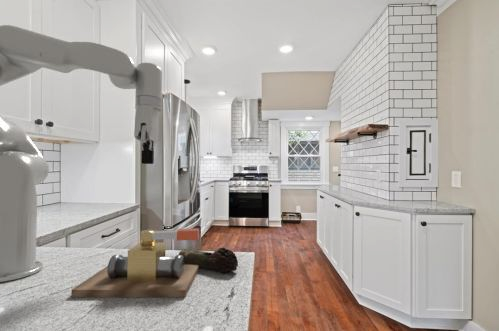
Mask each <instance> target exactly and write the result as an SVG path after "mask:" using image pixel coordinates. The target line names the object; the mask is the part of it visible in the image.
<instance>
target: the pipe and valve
mask: <svg viewBox="0 0 499 331" xmlns="http://www.w3.org/2000/svg"><path fill="white" fill-rule="evenodd" d="M107 266H108V268H107V273H108V277H109V278H117V277H118V276H127V282H156V281H157V279H158V278H159V277H160V276H173V277H174V278H180V277H181V276H182V274H183V271H184V256H183V255H178V254H176V255H174V256H166V242H155V245H153V246H146V247H144V246H141V241H140V242H139V243H137V244H135V245H134V246H133V247H131V248H129V249H128V250H127V256H124V255H122V254H113V255H112V256H111V257H110V259H109V261H108V263H107Z"/></svg>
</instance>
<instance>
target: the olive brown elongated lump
mask: <svg viewBox="0 0 499 331" xmlns="http://www.w3.org/2000/svg"><path fill="white" fill-rule="evenodd" d="M177 255H183V256H184V265H199V268H206V269H207V268H208V269H213V270H216V271H218V272H220V273H222V274H224V275H225V274H227V273H228V272H229V271H230V272H232V271H233V272H235V271H237V269H238V267H239V261H238V257H237V255H236V253H235V252H234V251H233V250H231V249H226V247H219V248H218V249H217V250H214V251H213V252H207V251H203V250H202V251H201V250H195V249H188V248H183V249H181V250H180V251H179V253H178V254H177Z"/></svg>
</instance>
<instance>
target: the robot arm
mask: <svg viewBox="0 0 499 331" xmlns="http://www.w3.org/2000/svg"><path fill="white" fill-rule="evenodd" d="M41 68H44V69H49V70H52V71H55V72H60V73H62V74H69V73H71V72H73V71H75V70H81V69H82V70H89V71H94V72H98V73H101V74H105V75H108V77H109V79H110V82H111V83H112V85H114V87H116V88H118V89H122V90H133V89H134V90H135V110H136V111H135V117H134V130H133V131H134V132H133V135H134V136H133V137H134V138H135V139H136V140H138V141H139V142H140V143H141V164H143V165H153V164H154V161H155V160H154V159H155V151H154V150H155V143H157V142H158V141H159V137H160V136H159V132H160V129H159V128H160V127H159V126H160V125H159V123H160V122H159V113H160V112H162V97H163V96H162V94H163V92H162V90H163V89H162V87H163V86H162V82H163V71H162V68H161V67H160V66H159V65H157V64H155V63H151V62H141V63H140V62H139V64H137V66H135V62H134V61H133V59H132V57H130V55H128V54H127V53H125V52H124V51H121V50H120V49H119V50H118V49H117V48H113V47H110V46H107V45H105V44H104V45H103V44H101V43H96V42H91V41H66V40H62V39H59V38H56V37H52V36H48V35H46V34H41V33H39V32H36V31H32V30H29V29H25V28H21V27H18V26H16V25H15V26H14V25H10V24H3V25H0V87H1V86H3V85H6V84H9V83H11V82H13V81H17V80H19V79H21V78H23V77H26V76H28V75H31V74H33V73H35V72H38V71H39V70H40V69H41ZM49 170H50V168H49V164H48V162H47V160H46V159H45V157H44V156H43V154H42V153H41V152H40V150H39V149H38V148H37V146H36V145H35V143H34V141H33V140H32V139H31V137H30V136H29V134H28V133H27V132H26V131H25V130H24V128H22V127H21V126H20V125H19V124H17V123H15V122H13V121H10V120H7V119H6V118H4V117H3V116H2V115H0V283H3V282H10V281H13V280H19V279H22V278H25V277H29V276H32V275H34V274H36V273H38V272H40V271H41V270H43V268H44V264H43V262H42V261H39V260H37V258H36V257H37V229H38V228H37V226H38V221H37V220H38V218H37V217H38V197H37V196H38V195H37V191H36V190H37V188H36V185H37V186H38V185H39V184H41V183H43V182H44V181H45V180H46V179H47V177H48V175H49V172H50V171H49Z"/></svg>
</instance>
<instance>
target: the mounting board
mask: <svg viewBox="0 0 499 331" xmlns="http://www.w3.org/2000/svg"><path fill="white" fill-rule="evenodd" d="M107 268H108V265H107V266H105V267H104V268H102V269H101V270H99V271H98V272H96V273H95V274H93V275H92V276H90V277H88V278H87V279H86V280H84V281H82V282H81V283H80V284H78V285H76V286H75V287H74V288H72V289H71V291H70V293H71V294H70V295H71V298H186V297H187V295H188V293H189V291H190V289H191V287H192V285H193V283H194V281H195V279H196V277H197V275H198V274H199V271H200V267H199V265H184V271H183V274H182V276H181V277H180V278H174V277H173V276H160V277H159V278H158V279H157V281H156V282H127V276H118V277H117V278H109V277H108V273H107Z"/></svg>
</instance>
